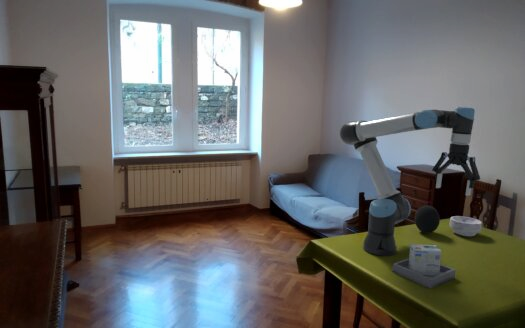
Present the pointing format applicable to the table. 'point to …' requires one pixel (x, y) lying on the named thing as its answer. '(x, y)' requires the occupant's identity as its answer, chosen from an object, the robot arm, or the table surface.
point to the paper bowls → (465, 225)
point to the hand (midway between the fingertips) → (452, 191)
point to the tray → (424, 280)
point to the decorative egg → (427, 219)
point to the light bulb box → (425, 259)
